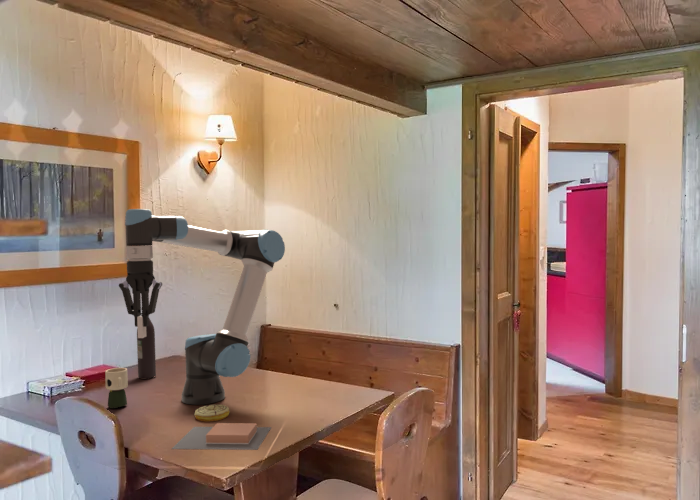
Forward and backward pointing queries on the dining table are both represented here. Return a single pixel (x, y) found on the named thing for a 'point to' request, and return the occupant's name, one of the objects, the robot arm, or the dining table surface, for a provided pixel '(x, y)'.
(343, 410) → the dining table surface
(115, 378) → the character mug
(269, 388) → the dining table surface
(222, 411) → the decorated donut
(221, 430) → the terracotta tile
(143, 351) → the wine bottle
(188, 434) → the slate mat
